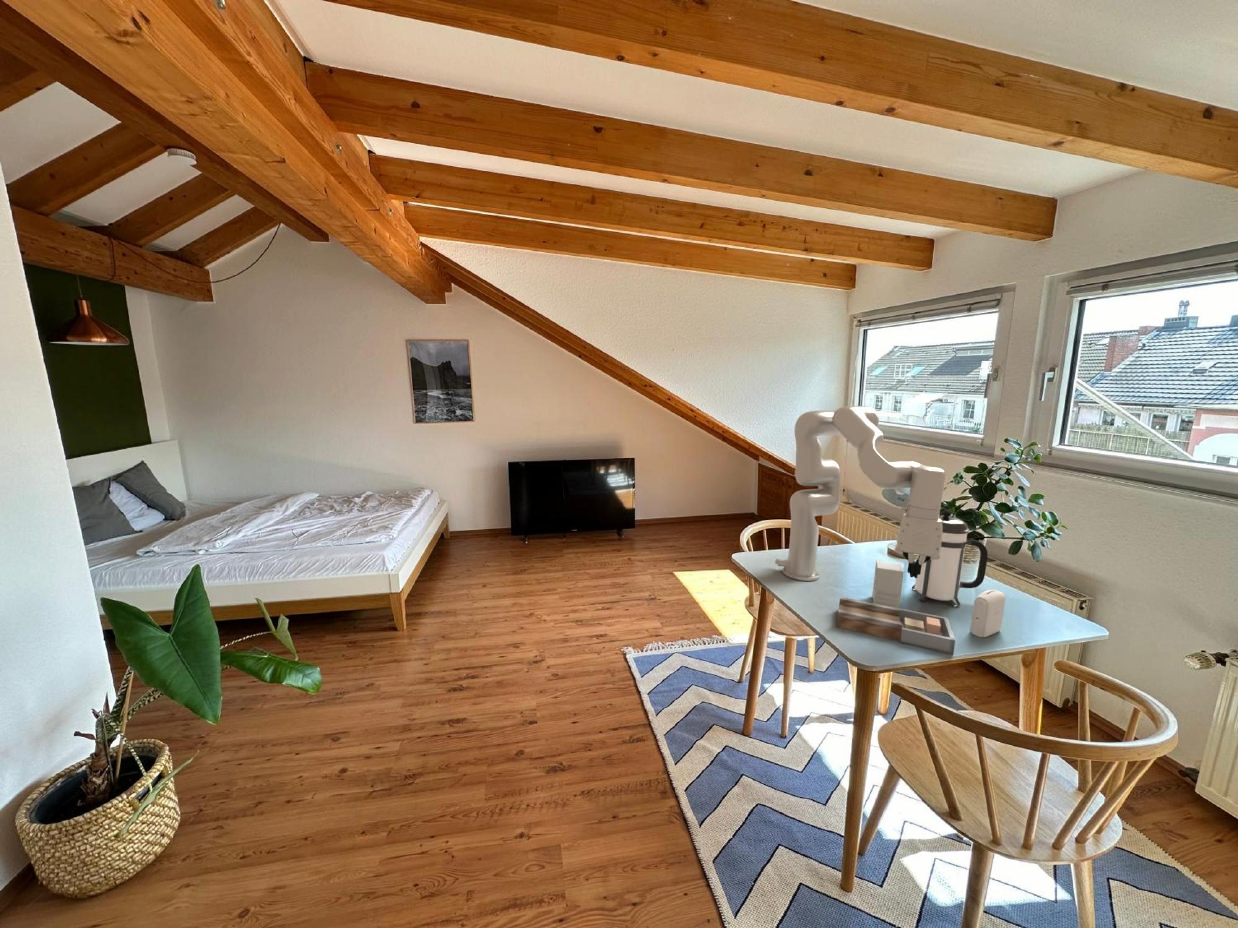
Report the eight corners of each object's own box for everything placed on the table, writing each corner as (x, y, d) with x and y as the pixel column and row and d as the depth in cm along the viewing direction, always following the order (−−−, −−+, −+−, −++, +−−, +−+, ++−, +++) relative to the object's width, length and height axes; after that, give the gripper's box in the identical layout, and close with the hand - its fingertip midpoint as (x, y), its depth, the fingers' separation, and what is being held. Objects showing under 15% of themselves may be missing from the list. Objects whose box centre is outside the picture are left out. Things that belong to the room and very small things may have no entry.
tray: (900, 642, 132) (902, 628, 131) (897, 620, 144) (899, 608, 144) (953, 654, 127) (955, 640, 126) (945, 630, 139) (947, 617, 138)
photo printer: (983, 639, 135) (990, 597, 133) (967, 632, 138) (973, 591, 136) (1002, 631, 140) (1009, 590, 137) (986, 624, 143) (992, 585, 141)
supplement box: (897, 600, 158) (901, 563, 156) (899, 609, 151) (904, 571, 149) (871, 595, 161) (875, 559, 159) (872, 605, 154) (877, 567, 152)
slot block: (836, 626, 140) (838, 612, 139) (838, 609, 151) (840, 596, 150) (900, 640, 133) (902, 625, 132) (897, 622, 143) (899, 607, 143)
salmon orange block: (927, 623, 132) (940, 626, 131) (926, 616, 136) (939, 619, 135) (925, 638, 133) (938, 641, 132) (924, 631, 137) (937, 634, 136)
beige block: (903, 633, 135) (905, 623, 135) (903, 627, 139) (904, 617, 139) (922, 638, 133) (924, 628, 133) (921, 631, 137) (923, 621, 137)
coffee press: (945, 612, 150) (958, 519, 145) (898, 591, 165) (909, 506, 160) (981, 604, 156) (995, 514, 151) (933, 584, 171) (945, 502, 166)
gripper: (891, 511, 131) (883, 575, 135) (958, 520, 125) (947, 587, 128) (890, 505, 138) (882, 565, 141) (953, 513, 131) (943, 576, 135)
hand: (913, 575), depth 135 cm, fingers closed
